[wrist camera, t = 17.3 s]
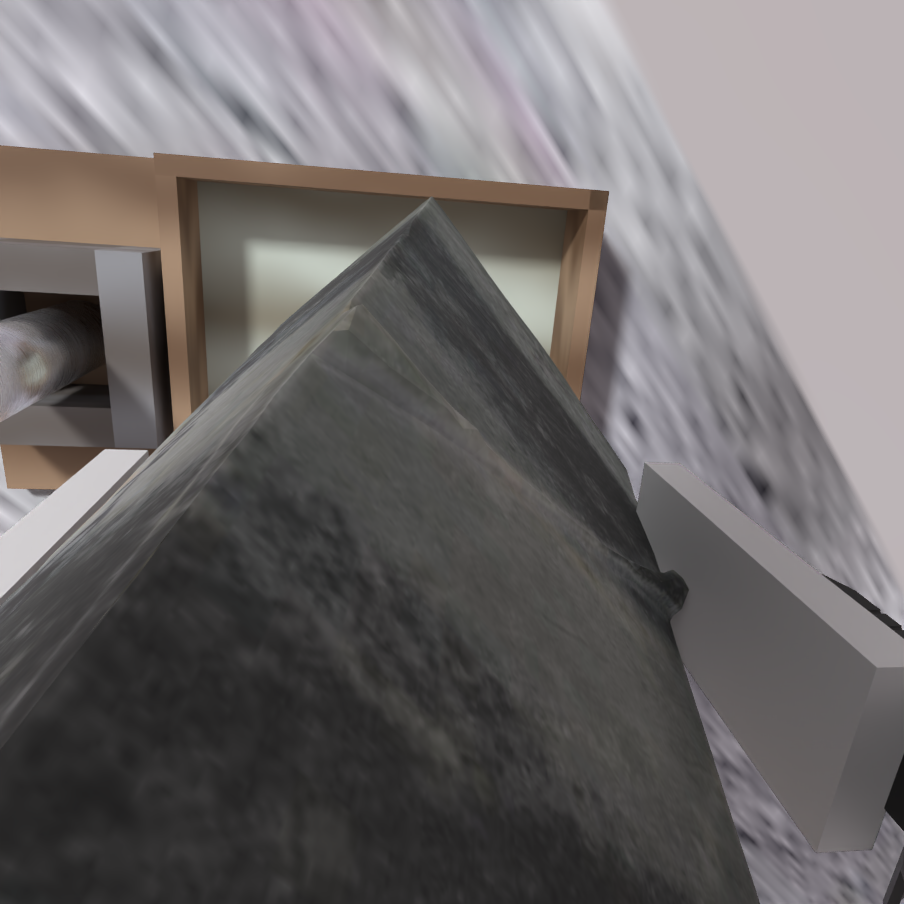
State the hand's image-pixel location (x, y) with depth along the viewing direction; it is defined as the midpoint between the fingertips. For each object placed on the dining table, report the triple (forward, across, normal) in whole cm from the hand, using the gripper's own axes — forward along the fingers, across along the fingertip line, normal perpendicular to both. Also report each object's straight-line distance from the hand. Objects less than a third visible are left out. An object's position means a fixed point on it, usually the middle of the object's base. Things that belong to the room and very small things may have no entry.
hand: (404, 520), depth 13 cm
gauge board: (+22, -5, 0) cm, 23 cm away
